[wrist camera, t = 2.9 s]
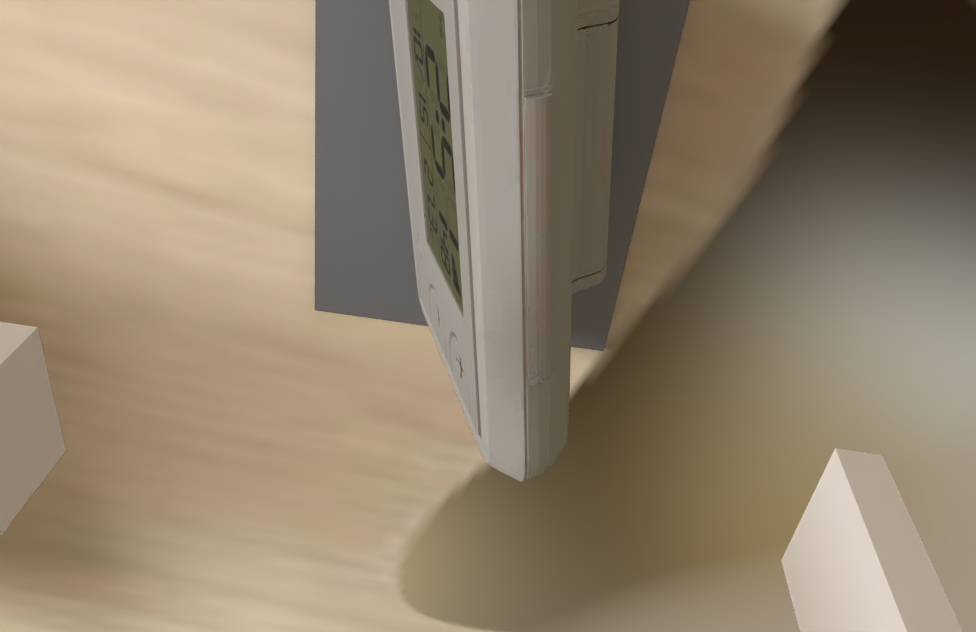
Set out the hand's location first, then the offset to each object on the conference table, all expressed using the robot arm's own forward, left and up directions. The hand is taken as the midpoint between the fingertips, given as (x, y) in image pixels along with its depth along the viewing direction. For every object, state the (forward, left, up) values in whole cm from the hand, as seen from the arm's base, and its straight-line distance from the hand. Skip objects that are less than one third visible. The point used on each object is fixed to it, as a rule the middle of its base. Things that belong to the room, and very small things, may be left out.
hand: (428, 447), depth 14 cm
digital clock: (0, 0, -18) cm, 18 cm away
